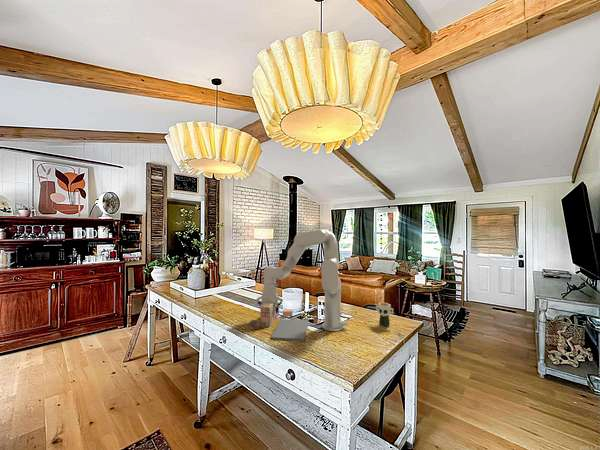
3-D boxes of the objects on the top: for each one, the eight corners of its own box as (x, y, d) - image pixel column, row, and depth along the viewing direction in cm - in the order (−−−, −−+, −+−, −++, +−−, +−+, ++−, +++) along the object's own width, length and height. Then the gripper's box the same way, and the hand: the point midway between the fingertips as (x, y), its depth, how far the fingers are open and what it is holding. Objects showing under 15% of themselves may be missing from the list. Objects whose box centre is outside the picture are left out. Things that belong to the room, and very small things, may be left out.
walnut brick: (260, 327, 159) (261, 320, 159) (258, 329, 155) (258, 322, 155) (251, 326, 160) (251, 319, 160) (249, 328, 156) (249, 322, 156)
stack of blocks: (270, 315, 181) (270, 297, 181) (279, 315, 179) (279, 297, 180) (260, 326, 159) (260, 306, 160) (270, 327, 158) (270, 307, 158)
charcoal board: (308, 322, 167) (308, 320, 167) (304, 341, 139) (304, 338, 139) (280, 320, 169) (280, 318, 169) (271, 339, 141) (271, 337, 141)
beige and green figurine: (373, 324, 163) (373, 303, 163) (377, 321, 169) (377, 301, 169) (391, 329, 157) (391, 307, 157) (395, 325, 162) (395, 304, 163)
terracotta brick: (291, 315, 180) (291, 309, 180) (292, 317, 176) (292, 311, 176) (282, 315, 179) (282, 309, 179) (283, 317, 175) (283, 311, 175)
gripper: (284, 284, 172) (283, 311, 172) (258, 283, 174) (257, 309, 174) (282, 287, 164) (281, 314, 164) (255, 286, 166) (254, 313, 166)
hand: (269, 312), depth 169 cm, fingers open, 9 cm apart
